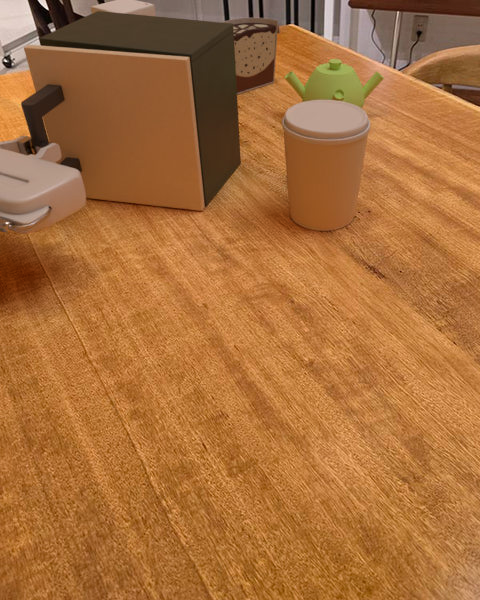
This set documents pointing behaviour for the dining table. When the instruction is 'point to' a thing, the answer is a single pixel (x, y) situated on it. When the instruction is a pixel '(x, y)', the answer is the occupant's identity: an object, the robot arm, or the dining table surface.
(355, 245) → the dining table surface
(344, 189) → the coffee cup
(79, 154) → the door
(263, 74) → the food container
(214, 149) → the cupboard
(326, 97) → the teapot
